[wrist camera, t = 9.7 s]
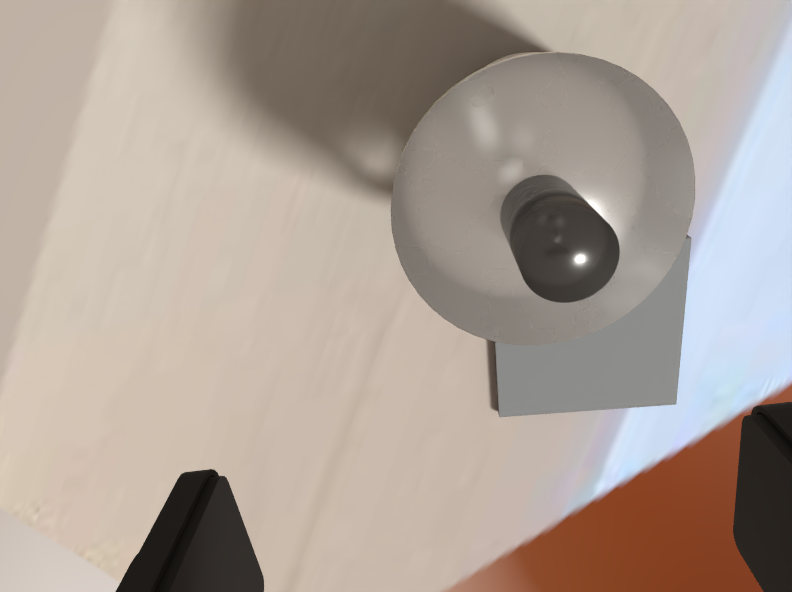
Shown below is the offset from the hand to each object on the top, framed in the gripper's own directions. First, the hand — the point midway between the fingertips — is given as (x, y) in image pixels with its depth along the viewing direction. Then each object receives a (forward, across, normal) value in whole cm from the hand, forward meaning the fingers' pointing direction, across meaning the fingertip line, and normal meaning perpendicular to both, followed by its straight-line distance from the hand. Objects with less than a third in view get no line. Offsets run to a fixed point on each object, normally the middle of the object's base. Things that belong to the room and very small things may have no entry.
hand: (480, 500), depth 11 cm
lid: (+16, -4, 0) cm, 16 cm away
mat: (+27, -8, +12) cm, 30 cm away
